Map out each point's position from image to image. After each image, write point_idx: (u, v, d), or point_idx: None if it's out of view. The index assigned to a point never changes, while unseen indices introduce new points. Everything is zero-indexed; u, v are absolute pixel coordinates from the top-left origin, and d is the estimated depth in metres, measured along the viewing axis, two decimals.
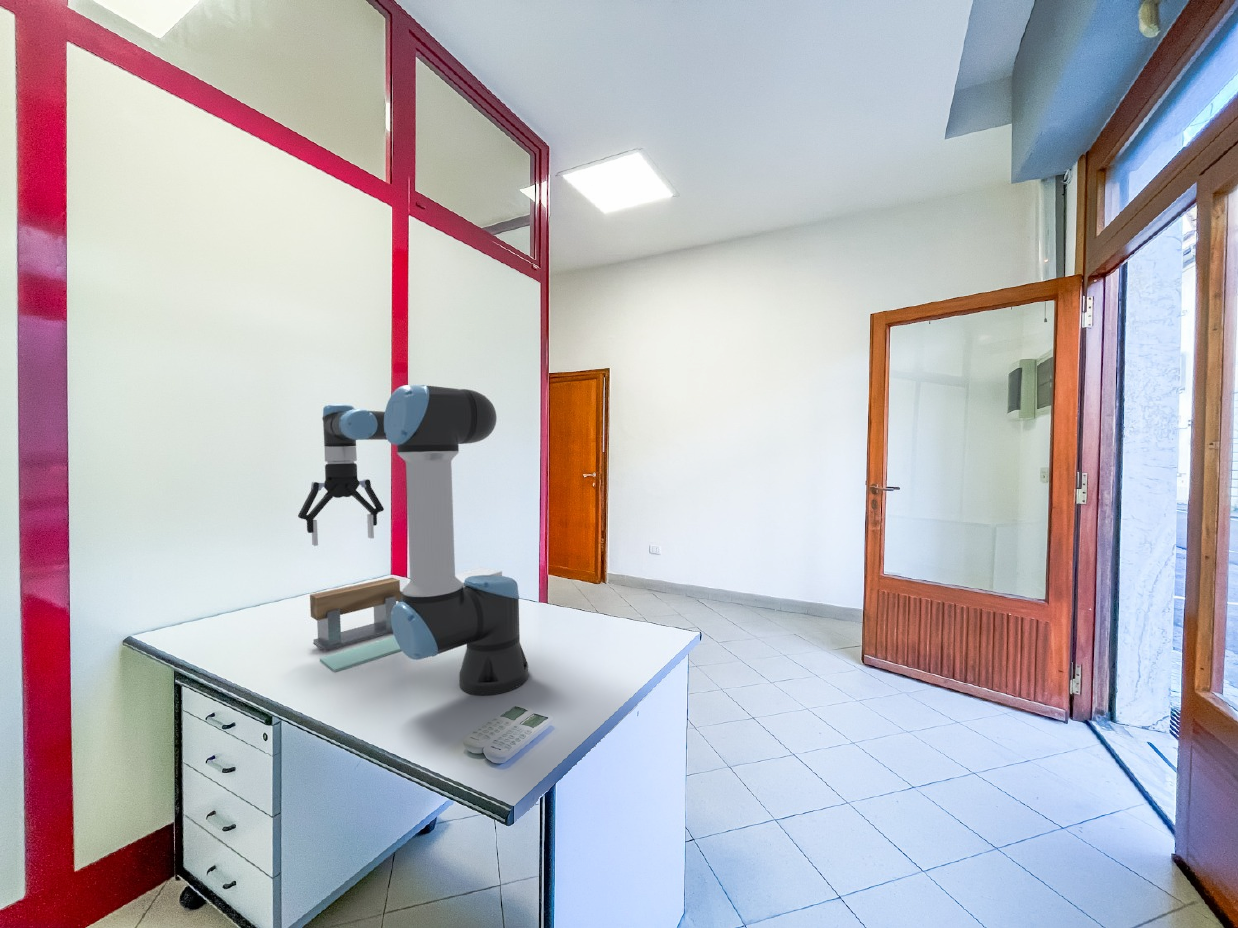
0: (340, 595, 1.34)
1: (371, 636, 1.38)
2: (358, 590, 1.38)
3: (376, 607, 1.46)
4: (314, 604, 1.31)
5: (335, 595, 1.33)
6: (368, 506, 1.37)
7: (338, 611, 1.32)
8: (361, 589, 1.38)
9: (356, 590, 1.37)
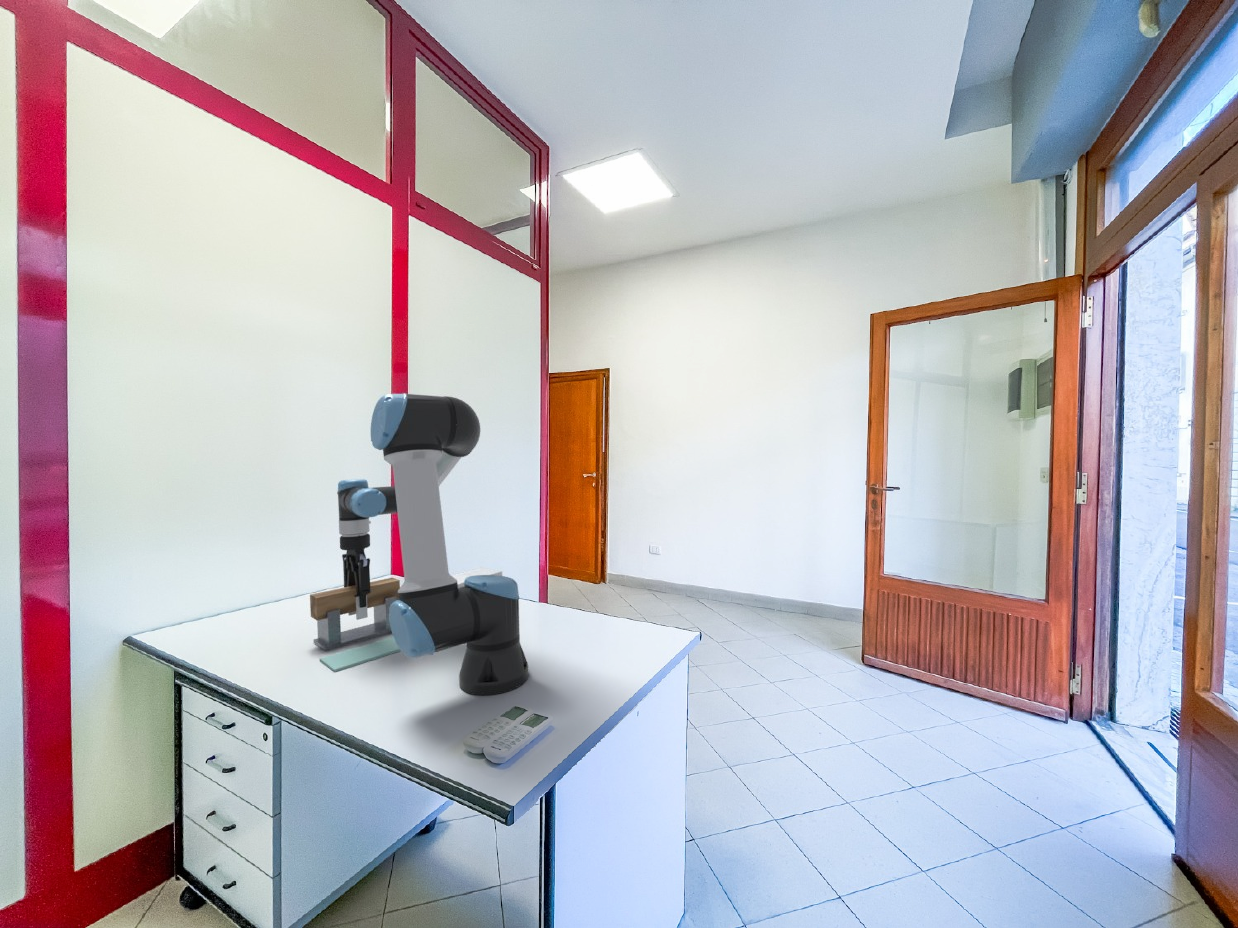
0: (340, 595, 1.34)
1: (371, 636, 1.38)
2: None
3: (376, 607, 1.46)
4: (314, 604, 1.31)
5: (335, 595, 1.33)
6: (356, 585, 1.37)
7: (338, 611, 1.32)
8: None
9: (356, 590, 1.37)
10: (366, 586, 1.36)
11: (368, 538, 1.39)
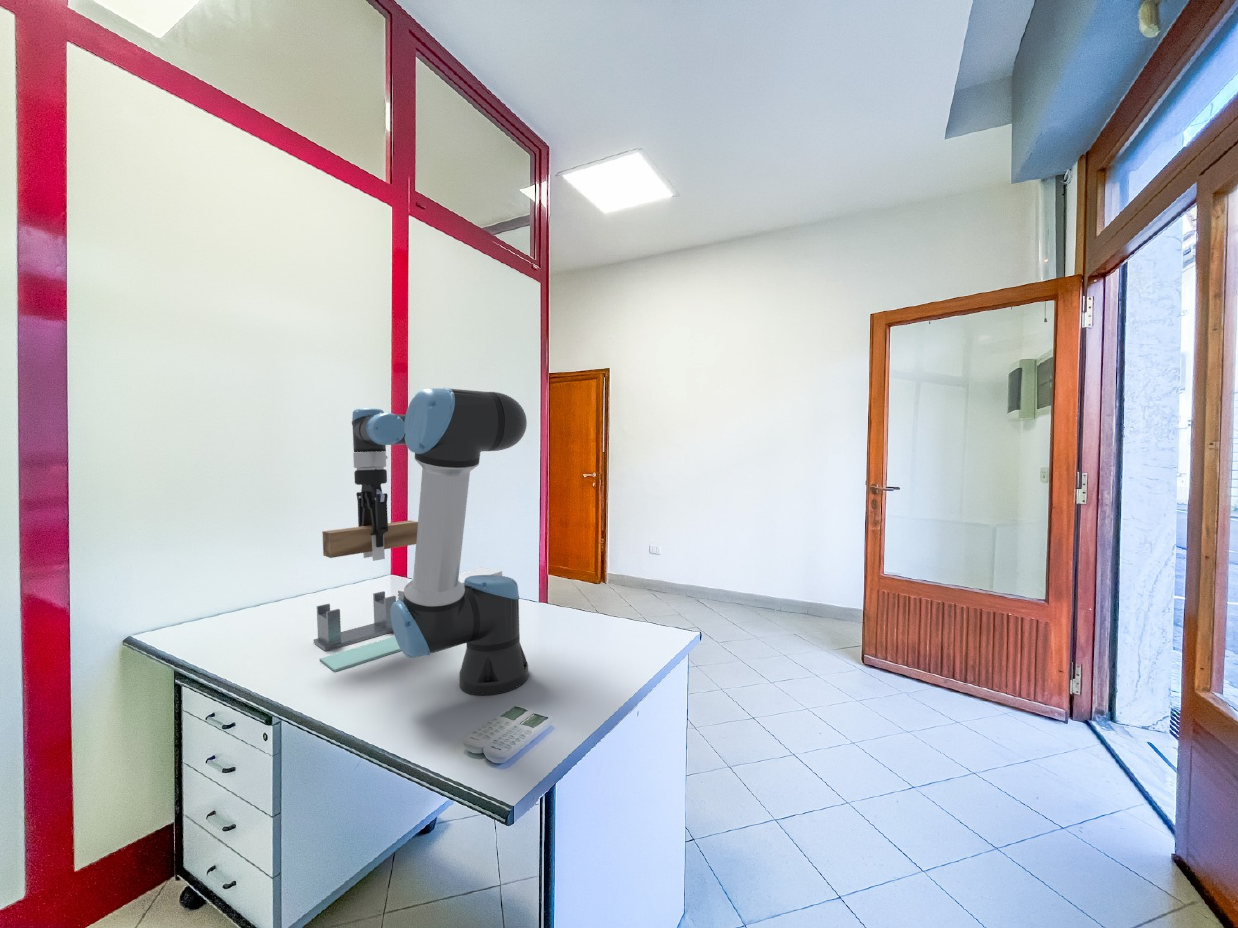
0: (355, 532, 1.23)
1: (371, 636, 1.38)
2: None
3: (376, 607, 1.46)
4: (327, 541, 1.20)
5: (350, 532, 1.22)
6: (372, 523, 1.25)
7: (338, 611, 1.32)
8: None
9: (372, 528, 1.26)
10: (383, 523, 1.24)
11: (385, 473, 1.28)
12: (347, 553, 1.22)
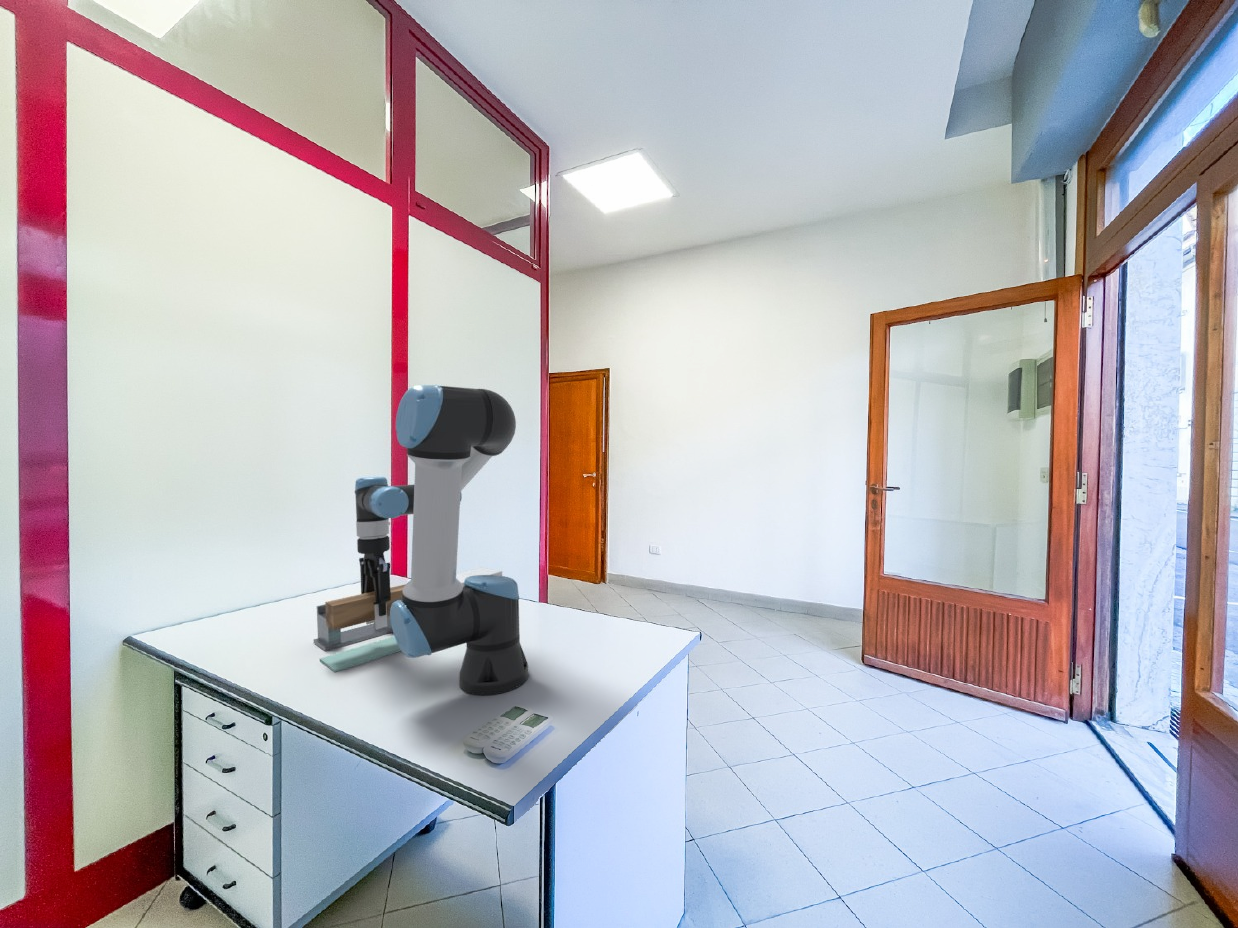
0: (358, 603, 1.23)
1: (371, 636, 1.38)
2: None
3: None
4: (330, 613, 1.20)
5: (353, 603, 1.22)
6: (375, 592, 1.26)
7: None
8: None
9: (375, 597, 1.26)
10: (386, 593, 1.25)
11: (388, 541, 1.29)
12: (350, 624, 1.22)
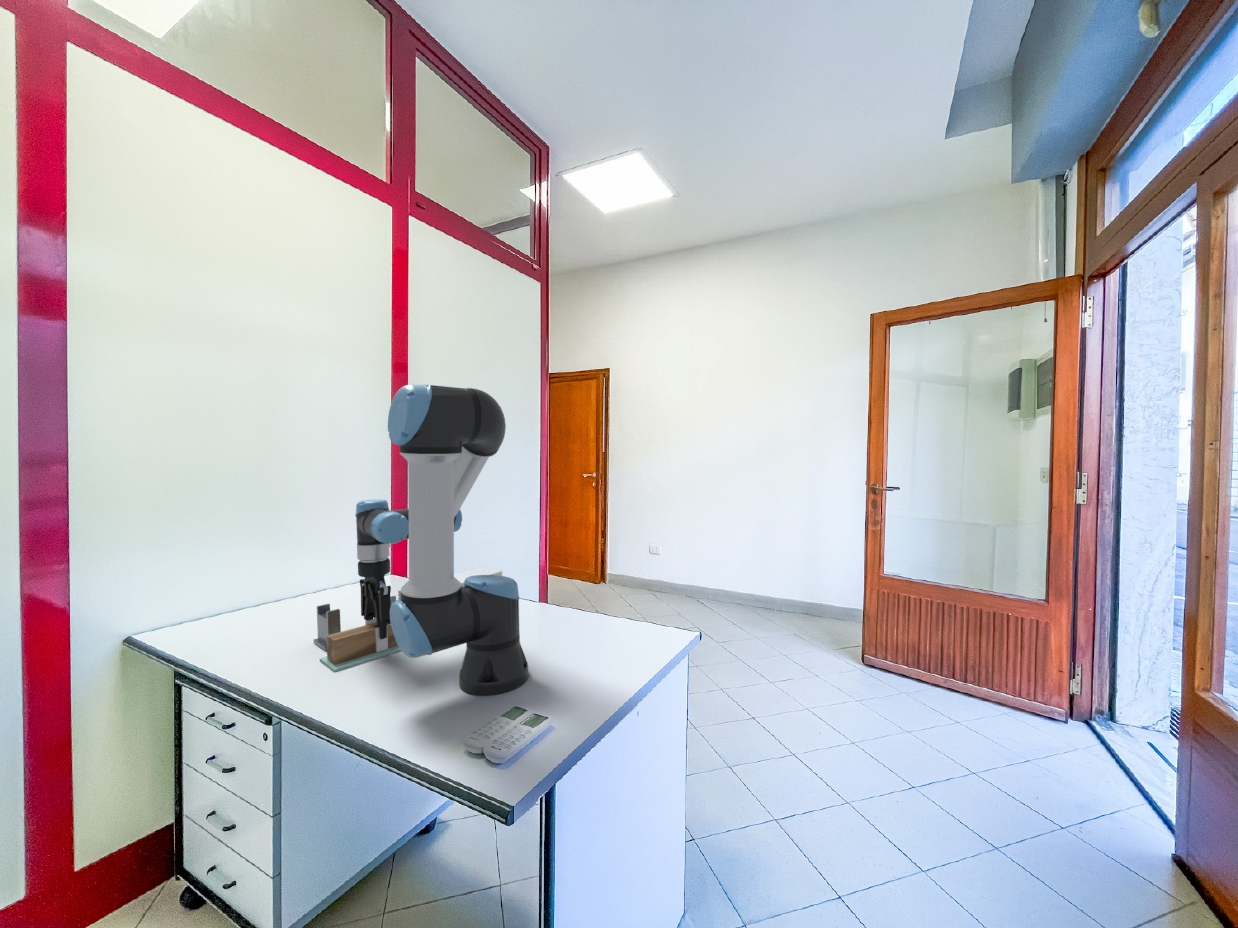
0: (359, 636, 1.24)
1: None
2: None
3: None
4: (331, 647, 1.21)
5: (354, 636, 1.23)
6: (376, 615, 1.26)
7: (338, 611, 1.32)
8: None
9: None
10: (387, 616, 1.25)
11: (388, 563, 1.29)
12: (351, 658, 1.22)
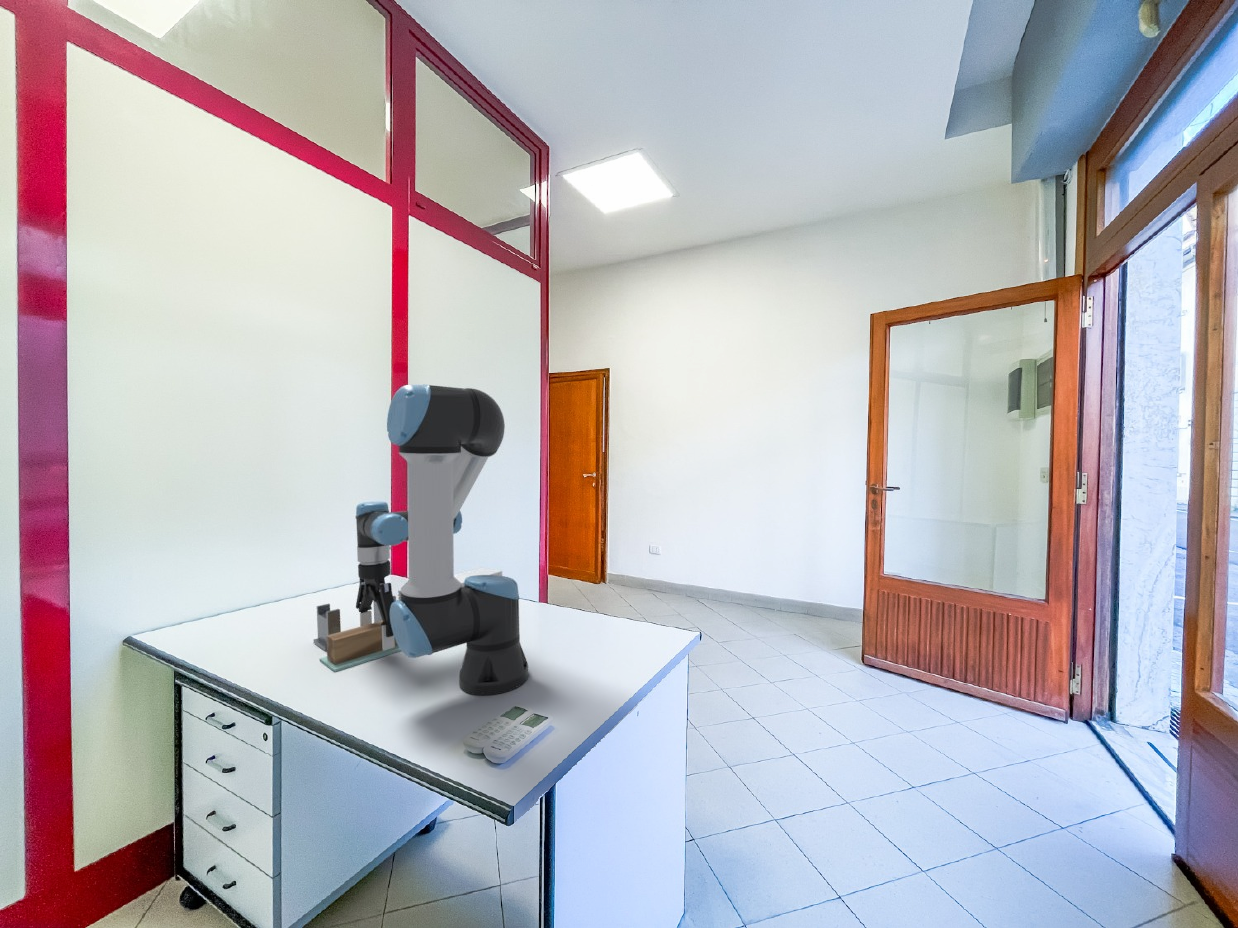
0: (359, 636, 1.24)
1: None
2: (378, 629, 1.27)
3: (376, 607, 1.46)
4: (331, 647, 1.21)
5: (354, 636, 1.23)
6: (381, 614, 1.24)
7: (338, 611, 1.32)
8: (381, 628, 1.28)
9: (376, 629, 1.27)
10: None
11: (388, 565, 1.29)
12: (351, 658, 1.22)
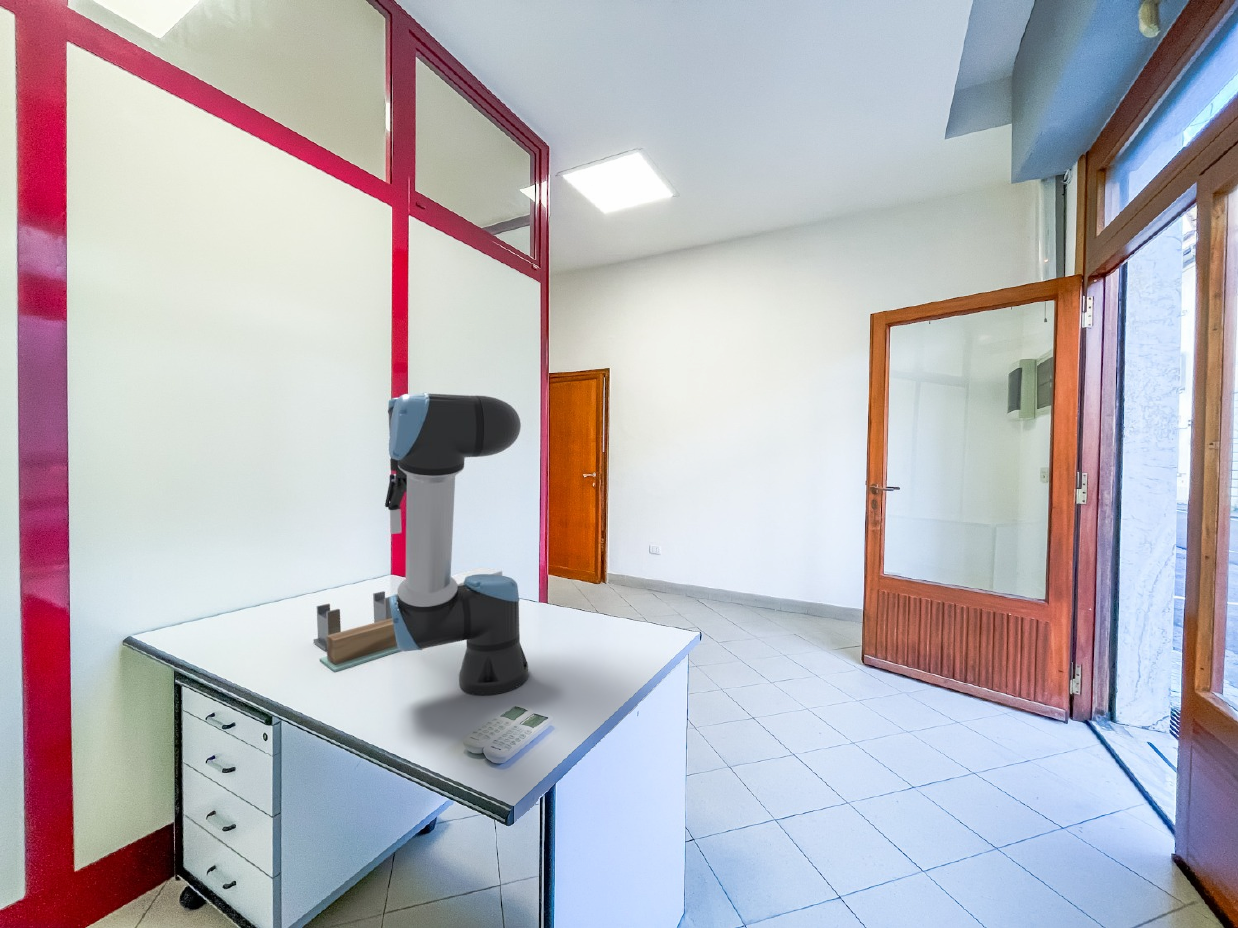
0: (359, 636, 1.24)
1: None
2: (378, 629, 1.27)
3: (376, 607, 1.46)
4: (331, 647, 1.21)
5: (354, 636, 1.23)
6: None
7: (338, 611, 1.32)
8: (381, 628, 1.28)
9: (376, 629, 1.27)
10: None
11: None
12: (351, 658, 1.22)
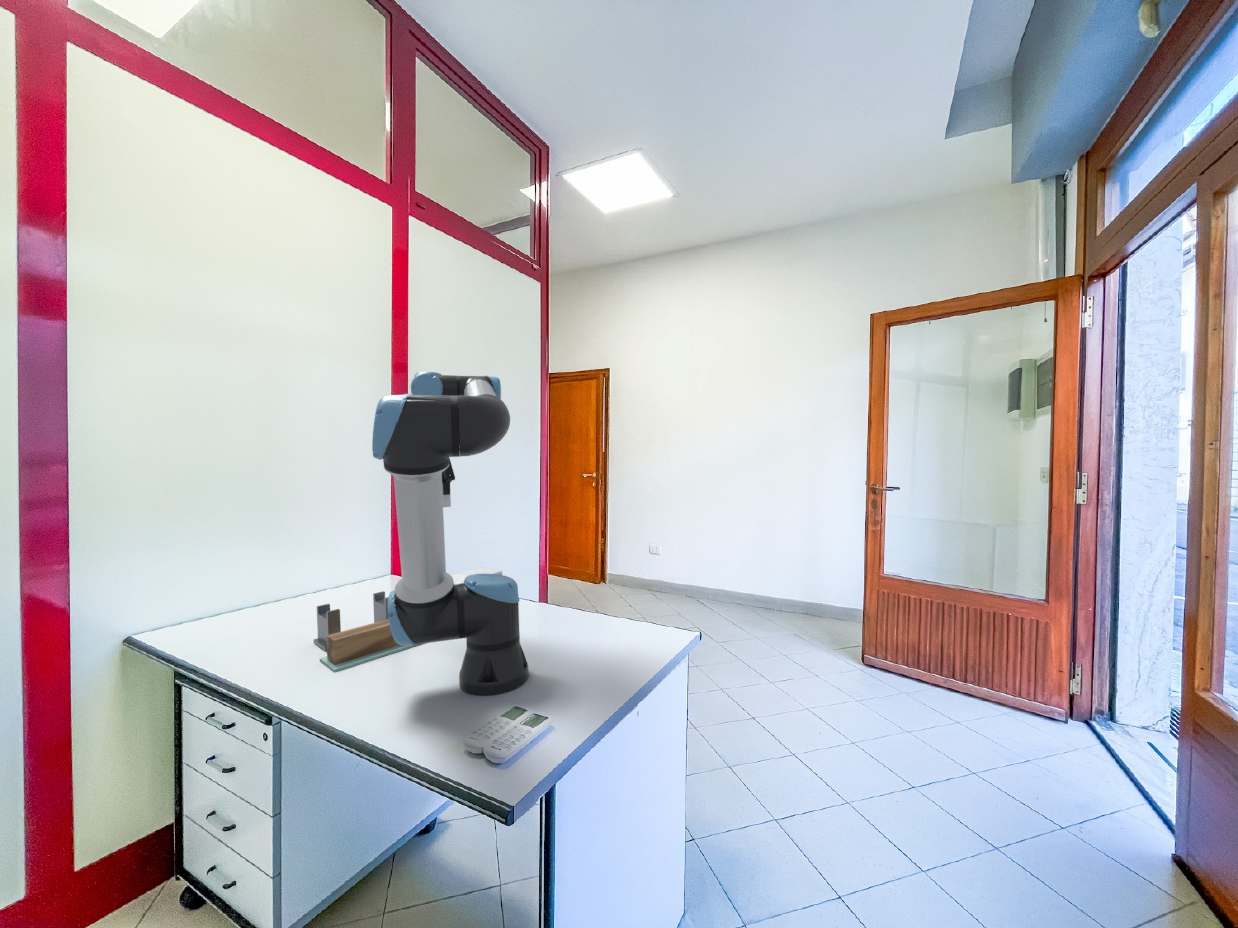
0: (359, 636, 1.24)
1: None
2: (378, 629, 1.27)
3: (376, 607, 1.46)
4: (331, 647, 1.21)
5: (354, 636, 1.23)
6: None
7: (338, 611, 1.32)
8: (381, 628, 1.28)
9: (376, 629, 1.27)
10: (450, 471, 1.31)
11: None
12: (351, 658, 1.22)
